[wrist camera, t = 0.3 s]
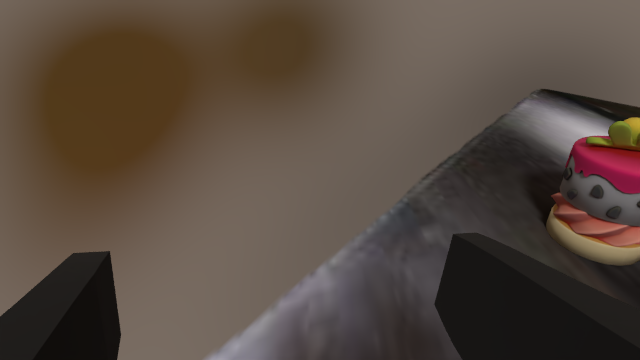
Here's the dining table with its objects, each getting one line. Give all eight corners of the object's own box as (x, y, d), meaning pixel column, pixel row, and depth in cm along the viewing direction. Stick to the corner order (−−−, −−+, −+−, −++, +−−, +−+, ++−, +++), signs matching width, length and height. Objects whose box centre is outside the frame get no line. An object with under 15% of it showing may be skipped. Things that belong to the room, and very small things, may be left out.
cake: (535, 207, 54) (575, 95, 47) (626, 223, 52) (681, 108, 45) (552, 255, 45) (604, 125, 38) (662, 277, 43) (739, 143, 36)
